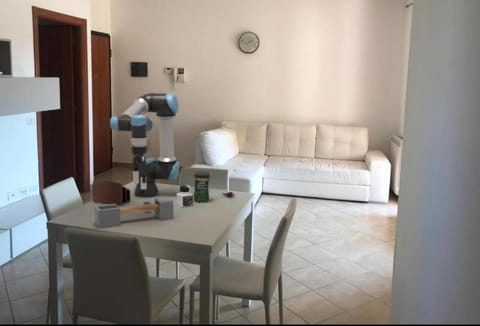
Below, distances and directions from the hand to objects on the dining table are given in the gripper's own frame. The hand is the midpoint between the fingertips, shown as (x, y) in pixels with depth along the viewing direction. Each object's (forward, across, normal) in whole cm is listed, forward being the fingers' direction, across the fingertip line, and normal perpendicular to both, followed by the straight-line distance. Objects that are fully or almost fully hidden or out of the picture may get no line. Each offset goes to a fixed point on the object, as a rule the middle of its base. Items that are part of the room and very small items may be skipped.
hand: (139, 186), depth 239 cm
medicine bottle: (+19, -17, +32) cm, 41 cm away
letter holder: (+19, -40, -5) cm, 45 cm away
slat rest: (+18, -13, -2) cm, 23 cm away
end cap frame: (+18, 0, -3) cm, 19 cm away
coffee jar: (+19, -22, +45) cm, 53 cm away
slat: (+13, 0, 0) cm, 13 cm away
